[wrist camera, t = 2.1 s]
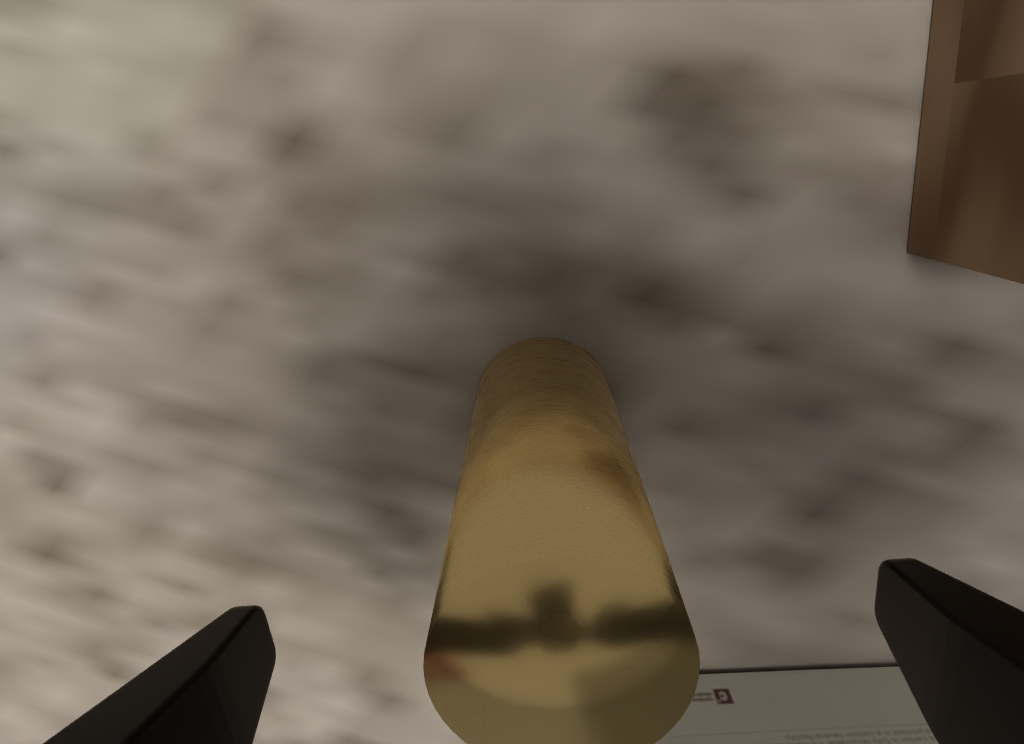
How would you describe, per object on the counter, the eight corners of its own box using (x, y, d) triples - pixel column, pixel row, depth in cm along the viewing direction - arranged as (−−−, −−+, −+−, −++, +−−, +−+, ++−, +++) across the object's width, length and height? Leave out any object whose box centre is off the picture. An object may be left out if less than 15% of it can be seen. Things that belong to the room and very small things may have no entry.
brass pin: (613, 454, 17) (700, 764, 8) (485, 465, 17) (444, 778, 9) (606, 331, 16) (698, 547, 7) (469, 345, 16) (402, 568, 7)
